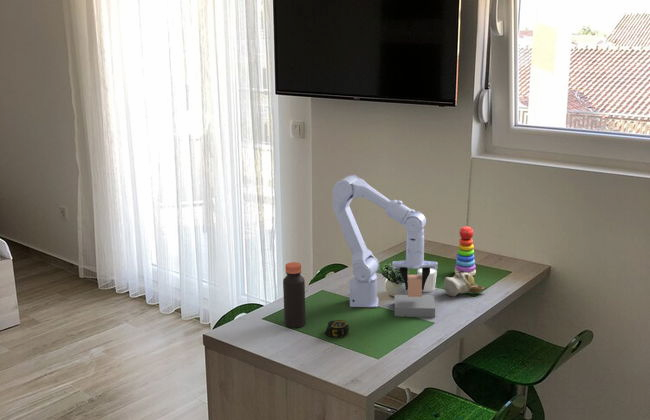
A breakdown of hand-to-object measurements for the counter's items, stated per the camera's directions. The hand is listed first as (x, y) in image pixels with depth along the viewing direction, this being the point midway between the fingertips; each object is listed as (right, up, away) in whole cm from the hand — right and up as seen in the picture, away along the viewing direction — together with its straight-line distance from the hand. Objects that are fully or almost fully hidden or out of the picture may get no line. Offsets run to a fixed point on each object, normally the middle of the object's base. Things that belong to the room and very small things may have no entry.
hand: (414, 289), depth 228 cm
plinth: (0, -7, +2) cm, 7 cm away
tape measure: (-26, -13, -15) cm, 33 cm away
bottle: (-39, -11, -7) cm, 41 cm away
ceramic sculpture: (+19, -3, +16) cm, 25 cm away
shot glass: (+7, -2, +20) cm, 21 cm away
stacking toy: (+23, +2, +34) cm, 41 cm away
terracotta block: (0, -2, 0) cm, 2 cm away
